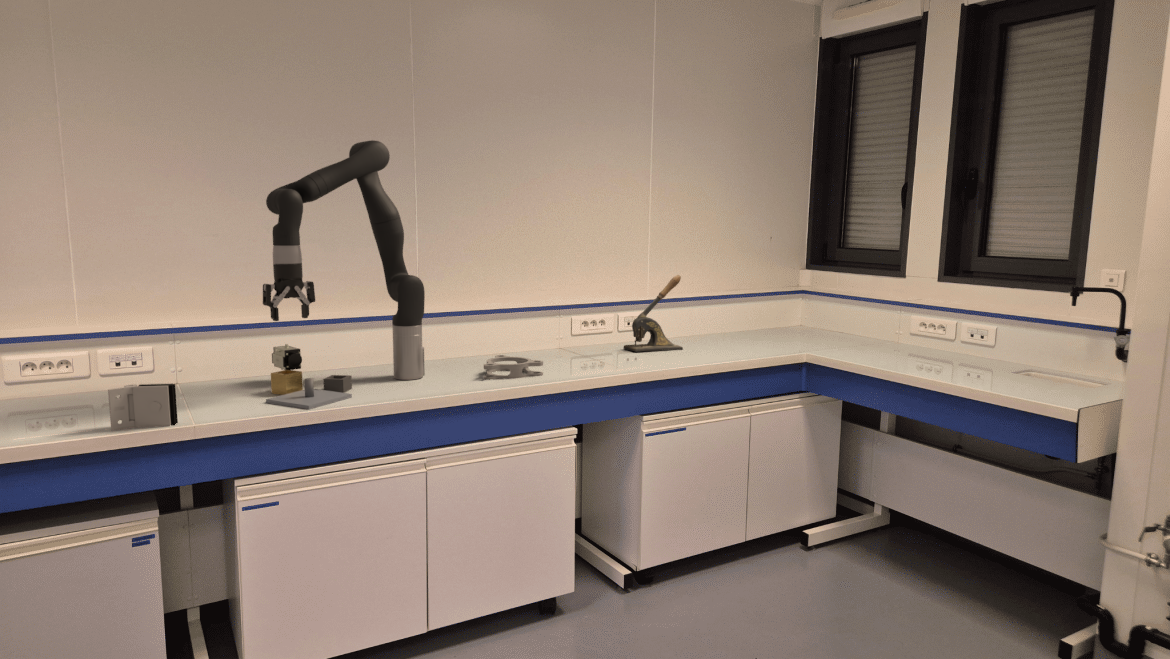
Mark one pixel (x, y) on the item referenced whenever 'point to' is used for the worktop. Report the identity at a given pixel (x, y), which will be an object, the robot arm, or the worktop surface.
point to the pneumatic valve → (286, 357)
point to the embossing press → (652, 326)
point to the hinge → (143, 406)
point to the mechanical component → (511, 367)
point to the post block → (309, 397)
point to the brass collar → (286, 382)
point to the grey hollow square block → (338, 383)
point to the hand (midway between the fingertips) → (290, 319)
